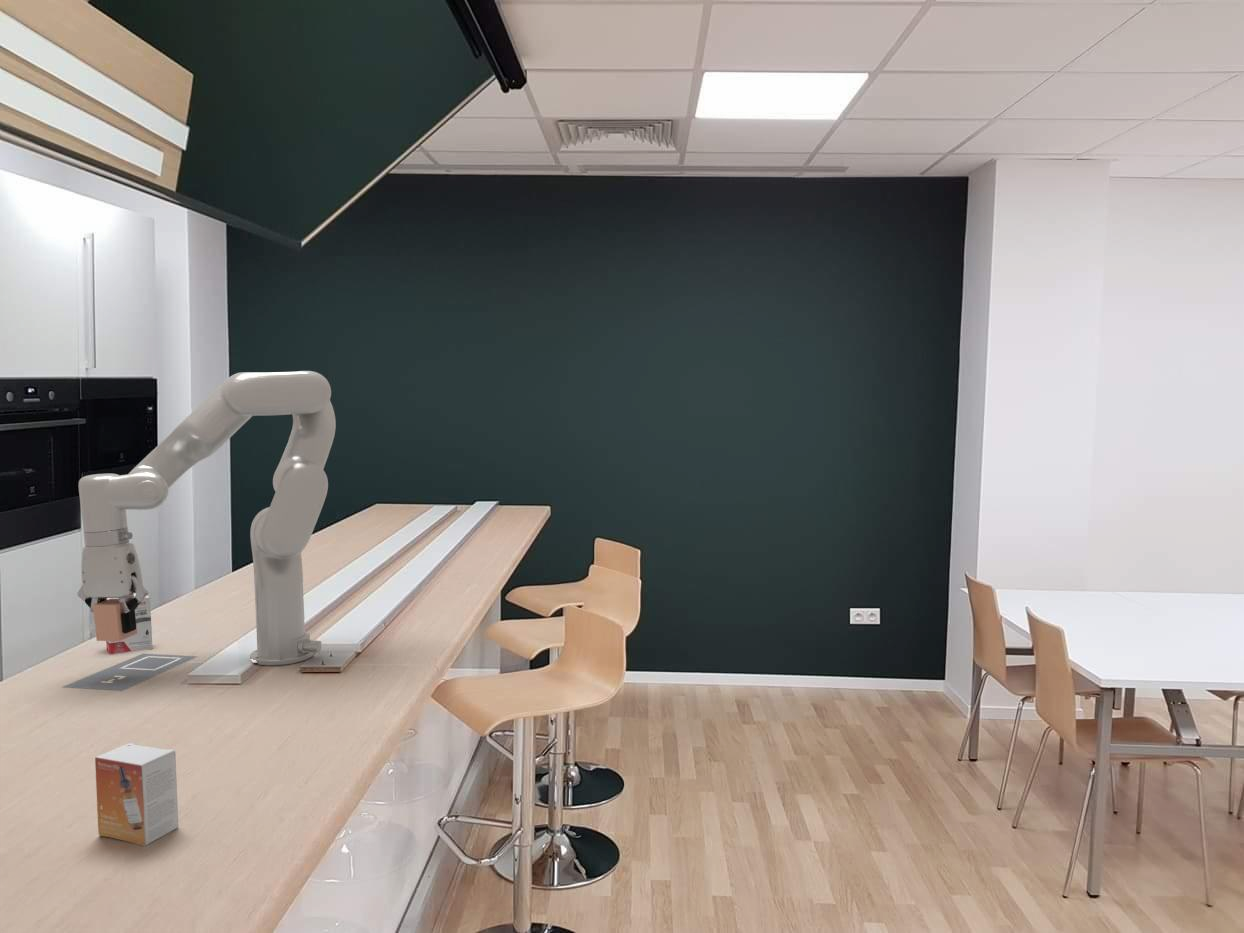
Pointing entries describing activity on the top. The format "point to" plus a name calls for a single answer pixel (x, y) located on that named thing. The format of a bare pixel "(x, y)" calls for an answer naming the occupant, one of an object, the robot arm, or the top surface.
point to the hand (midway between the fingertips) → (116, 630)
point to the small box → (136, 793)
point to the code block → (109, 621)
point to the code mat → (130, 672)
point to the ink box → (143, 631)
